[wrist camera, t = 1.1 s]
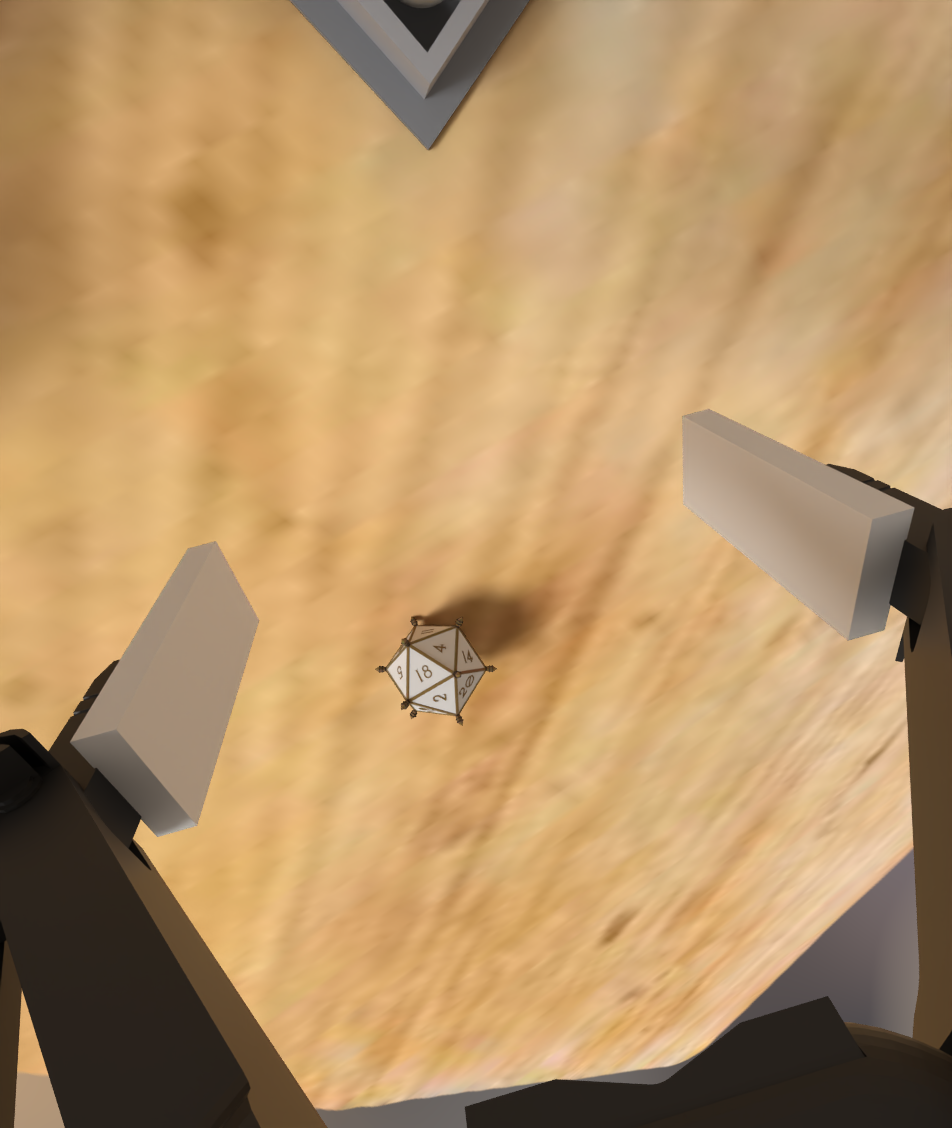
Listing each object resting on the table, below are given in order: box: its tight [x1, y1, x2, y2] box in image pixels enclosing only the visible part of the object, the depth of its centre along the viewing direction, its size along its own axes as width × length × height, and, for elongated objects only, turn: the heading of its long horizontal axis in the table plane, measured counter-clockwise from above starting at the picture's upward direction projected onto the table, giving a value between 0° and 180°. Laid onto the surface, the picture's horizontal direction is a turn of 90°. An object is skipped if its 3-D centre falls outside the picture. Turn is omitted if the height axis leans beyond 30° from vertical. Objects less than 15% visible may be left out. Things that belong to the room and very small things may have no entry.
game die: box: [376, 617, 497, 726], centre depth 44 cm, size 9×8×10 cm
